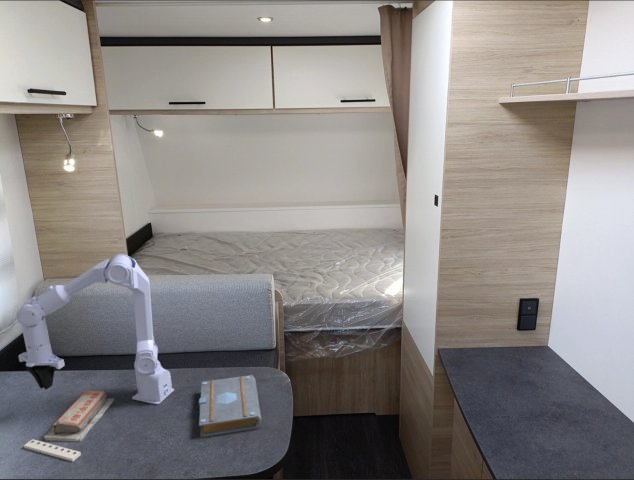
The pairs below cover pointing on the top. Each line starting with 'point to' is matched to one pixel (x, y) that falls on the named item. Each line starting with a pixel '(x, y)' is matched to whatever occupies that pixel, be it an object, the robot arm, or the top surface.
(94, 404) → the packaged product
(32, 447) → the perforated board
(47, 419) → the top surface
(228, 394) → the book
